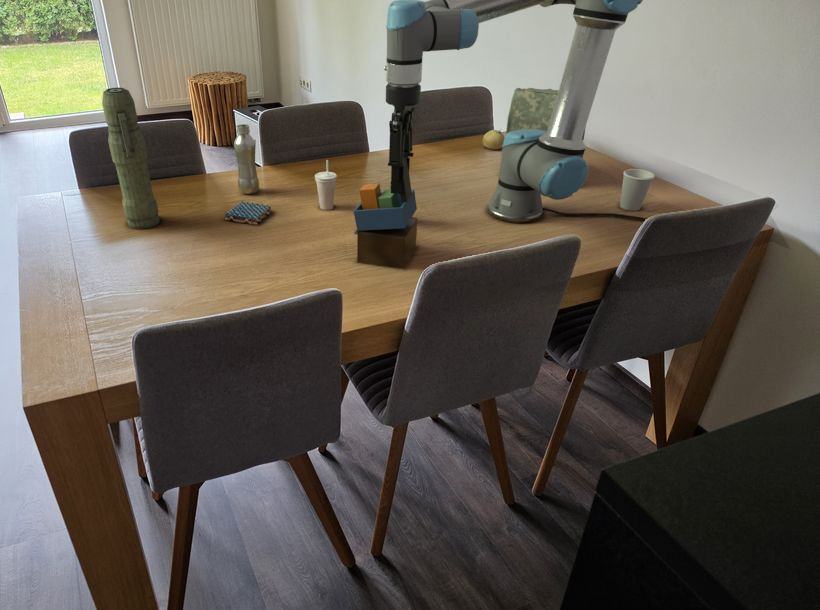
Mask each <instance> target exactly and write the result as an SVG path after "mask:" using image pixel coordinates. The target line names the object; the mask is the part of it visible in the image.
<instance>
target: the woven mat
mask: <svg viewBox="0 0 820 610" xmlns="http://www.w3.org/2000/svg"><path fill="white" fill-rule="evenodd" d="M271 207H272V206H270V205H269V204H266V205H264V204H259V203H254V202H251V203H249V202H248V201H247V202H244V201H243V200H242V201H241V202H239V203H238V204H236V205H235V206H234V207H232V208H230V210H228V211H227V212H225V216H224V220H225V221H234V222H235V223H248V224H250V225H255V226H258V222H260V223H261V222H262V219H264V218H266V217H267V216H268V215H270V214H271V212H272V211H273V210H272V208H271Z"/></svg>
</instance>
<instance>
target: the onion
mask: <svg viewBox="0 0 820 610" xmlns="http://www.w3.org/2000/svg"><path fill="white" fill-rule="evenodd" d="M502 130H503V129H501V128H500V130H497V129H491V130H489V131H488V132H486V133H485V134H484V135H483V137H482V145H483V147H484V148H486V149H488V150H492V151H493V150H500V149H501V148H503V147H502V146H503V143H504V139H505V135H504V133H502Z"/></svg>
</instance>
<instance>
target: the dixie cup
mask: <svg viewBox="0 0 820 610" xmlns="http://www.w3.org/2000/svg"><path fill="white" fill-rule="evenodd" d="M622 174H623V178H622V179H623V180H622V187H621V194H620V195H621V196H620V202H619V207H620V208H621V209H623V210H625V211H631V212H634V211H635V212H636V211H640V210H641V208H642V206H643V203H644V201H645V198H646V197H647V194H648V192H649V189H650V187H651V185H652V182H653V180H654V178H655V177H656V176H655V173H653V172H651V171H649V170H646V169H641V168H629V169H626V170H624V171H623V173H622Z"/></svg>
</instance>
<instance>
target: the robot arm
mask: <svg viewBox="0 0 820 610" xmlns="http://www.w3.org/2000/svg"><path fill="white" fill-rule="evenodd" d="M643 1H644V0H427V1H424V0H393V1H391V2H390V3H389V4H388V8H387V15H386V16H387V17H386V27H385V28H386V65H384V67H383V69H384V71H386V74H385V75H386V76H385V81H386V82H387V84H386V85H385V103H387V104H388V105H390V106H393V107H394V109H393V112H392V113H391V119H390V120H389V123H388V126H389V127H388V128H389V149H388V151H389V152H388V163H387V167H391V168H390V170H391V172H390V183H391V184H390V186H391V193H394V194H403V176H404V165H403V158H405V157H407V162H408V169H409V170H410V166H411V165H410V159H411V158H412V157H413V158H414V152H412V151H413V149H414V148H413V142H414V141H413V140H414V118H415V111H416V110H415V107H414V106H417V105H418V104H420V103H421V94H422V86H421V84H420V83H421V82H422V80H423V79H422V77H423V56H424V53H426V52H438V51H440V52H441V51H454V50H455V51H456V50H457V51H459V50H464V49H470V48H471V47H473V46H474V44H475V43H476V42H477V39H478V36H479V29H480V27H479V26H480V24H481V23H484V22H488V21H491V20H494V19H497V18H501V17H504V16H507V15H510V14H513V13H516V12H520V11H522V10H526V9H529V8H532V7H535V6H538V5H539V6H541V7H542V8H548V7H551V6H555V5H572V6H574V9H573V12H572V17H573V19H574V21H575V24H576V26H575V30H574V34H573V37H572V41H571V45H570V49H569V50H568V51H569V52H568V55H567V58H566V59H567V60H566V62H565V66H564V70H563V72H562V77H561V80H560V84H559V88H558V90H559V91H558V95H557V98H556V102H555V105H554V109H553V112H552V116H551V120H550V123H549V127H548V130H547V131H544V130H536V129H522V130H514V131H510V132H509V133H507V134H506V133H505V135H504V138H505V139H504V143H503V146H502V147H501V148H502V150H501V158H500V165H499V171H498V172H499V173H498V180H497V185H496V187H495V189H494V192H493V193H492V195H491V198H490V200H489V202H488V204H487V213H488V214H489V215H490V216H491V217H493V218H494V219H496V220H499V221H503V222H507V223H513V224H514V223H515V224H526V223H532V222H536V221H538V220H540V219H541V218H542V216H543V211H546V212H550V213H553V214H556V215H560V216H565V217H582V216H583V217H584V216H586V217H587V216H588V217H589V216H590V217H595V216H596V217H597V216H601V217H603V216H606V217H619V218H625V219H632V220H640V221H645V219H647V218H648V217H642V216H637V215H635V216H634V215H628V214H621V213H612V212H578V213H577V212H573V213H571V212H561V211H558V210H555V209H551V208H547V207H543V201H542V196H543V197H548V198H549V199H551V200H556V201H560V200H565V199H567V198H570V197H572V196H573V195H574V194H575V193H577V192H578V191H579V190H580V189H581V188H582V186H583V185H584V184H585V182H586V179H587V177H588V173H589V166H588V163H587V161H586V160H585V159H584V158H583V157H584V154H585V151H586V147H587V145H586V143H585V142H584V140H582V137H583V133H584V130H585V131H586V128H587V123H588V120H589V117H590V114H591V111H592V107H593V104H594V101H595V98H596V94H597V92H598V88H599V85H600V82H601V79H602V76H603V72H604V68H605V65H606V62H607V59H608V56H609V53H610V50H611V47H612V43H613V39H614V37H615V34H616V31H617V30H618V29H619V28H620V27H622V26H623V25H625V24H626V22H627V19H628V16H629V14H630V13H631V12H633V11H635V10H636V9H637V8H638V6H639V5H640V4H642V3H643ZM585 127H586V128H585Z"/></svg>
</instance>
